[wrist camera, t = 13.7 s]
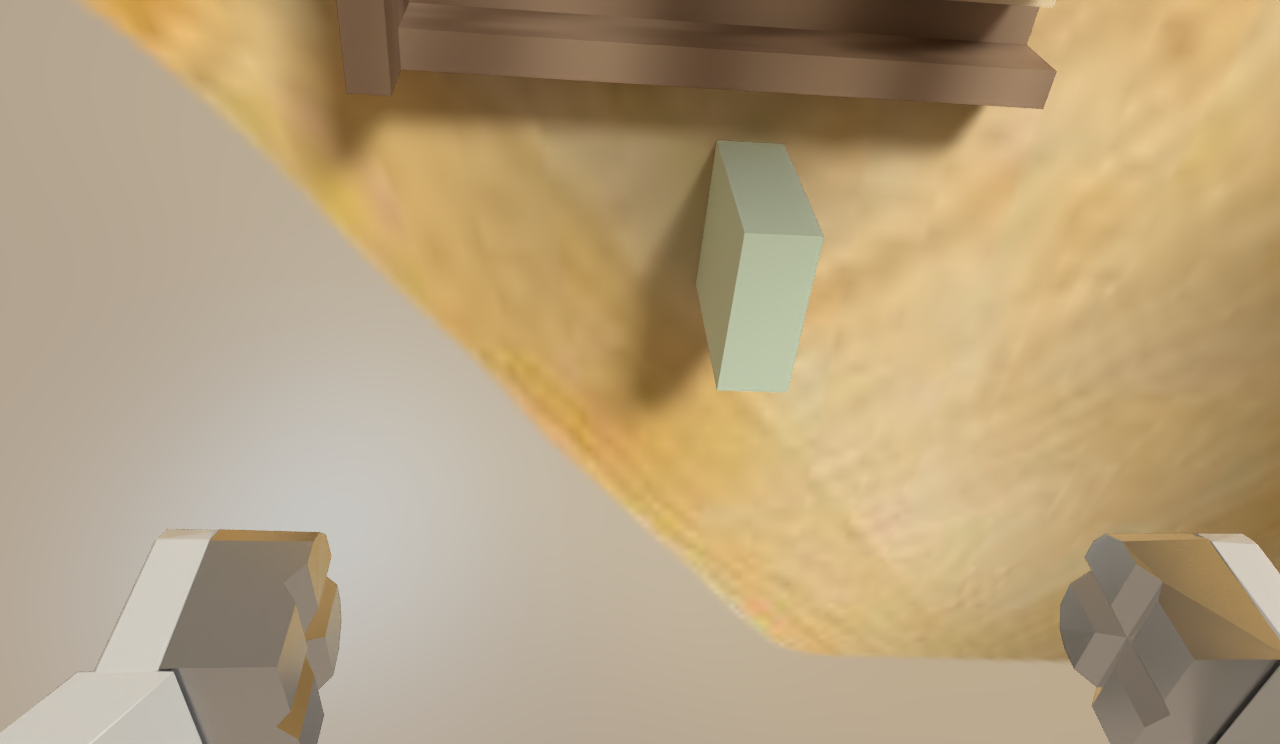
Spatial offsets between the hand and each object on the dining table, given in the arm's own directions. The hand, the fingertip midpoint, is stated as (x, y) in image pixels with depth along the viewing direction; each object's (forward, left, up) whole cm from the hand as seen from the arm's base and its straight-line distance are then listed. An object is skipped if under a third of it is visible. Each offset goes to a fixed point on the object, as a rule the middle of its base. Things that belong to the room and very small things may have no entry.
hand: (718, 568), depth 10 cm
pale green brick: (-5, +9, -24) cm, 26 cm away
